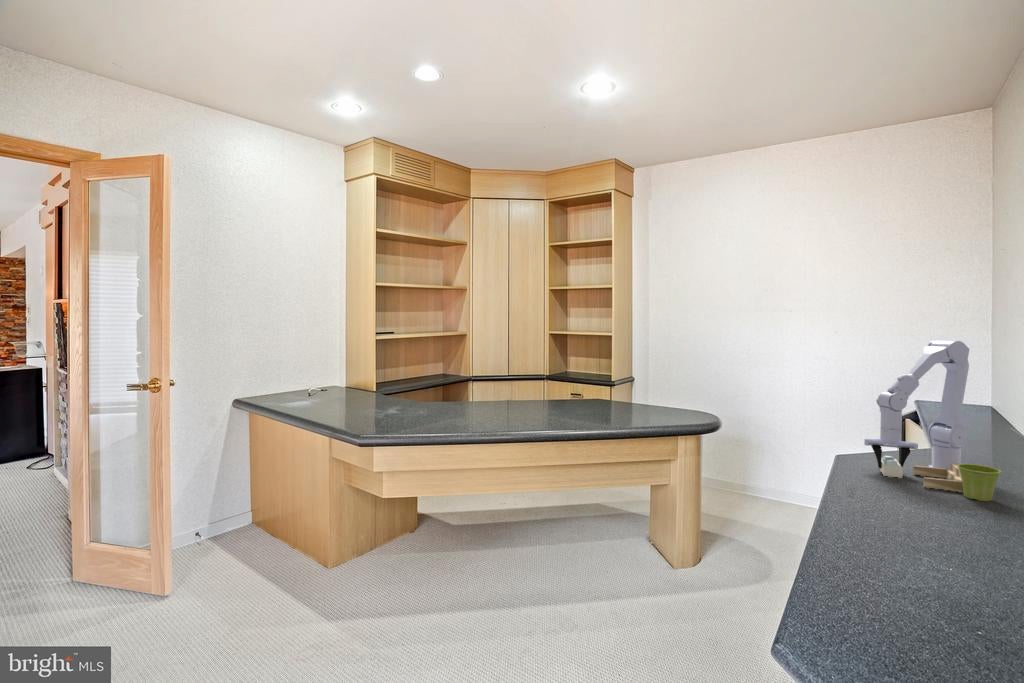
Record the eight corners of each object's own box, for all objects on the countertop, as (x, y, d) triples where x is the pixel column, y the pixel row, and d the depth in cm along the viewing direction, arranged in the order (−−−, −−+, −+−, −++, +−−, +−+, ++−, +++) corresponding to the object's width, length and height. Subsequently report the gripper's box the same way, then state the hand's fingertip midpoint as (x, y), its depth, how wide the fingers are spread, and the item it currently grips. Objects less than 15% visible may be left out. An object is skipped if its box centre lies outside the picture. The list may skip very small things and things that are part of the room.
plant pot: (983, 493, 158) (983, 464, 158) (1009, 504, 149) (1010, 473, 148) (948, 492, 159) (949, 463, 159) (972, 503, 149) (973, 472, 149)
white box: (878, 467, 186) (878, 454, 186) (895, 469, 184) (896, 455, 184) (883, 476, 175) (884, 462, 175) (902, 478, 173) (902, 463, 173)
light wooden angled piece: (913, 474, 178) (913, 459, 178) (961, 479, 172) (962, 463, 172) (924, 487, 163) (924, 471, 163) (977, 493, 157) (978, 476, 157)
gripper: (866, 428, 179) (865, 468, 179) (920, 432, 172) (919, 474, 173) (863, 424, 185) (863, 463, 186) (915, 428, 179) (914, 469, 179)
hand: (889, 468), depth 180 cm, fingers closed on white box, 5 cm apart
